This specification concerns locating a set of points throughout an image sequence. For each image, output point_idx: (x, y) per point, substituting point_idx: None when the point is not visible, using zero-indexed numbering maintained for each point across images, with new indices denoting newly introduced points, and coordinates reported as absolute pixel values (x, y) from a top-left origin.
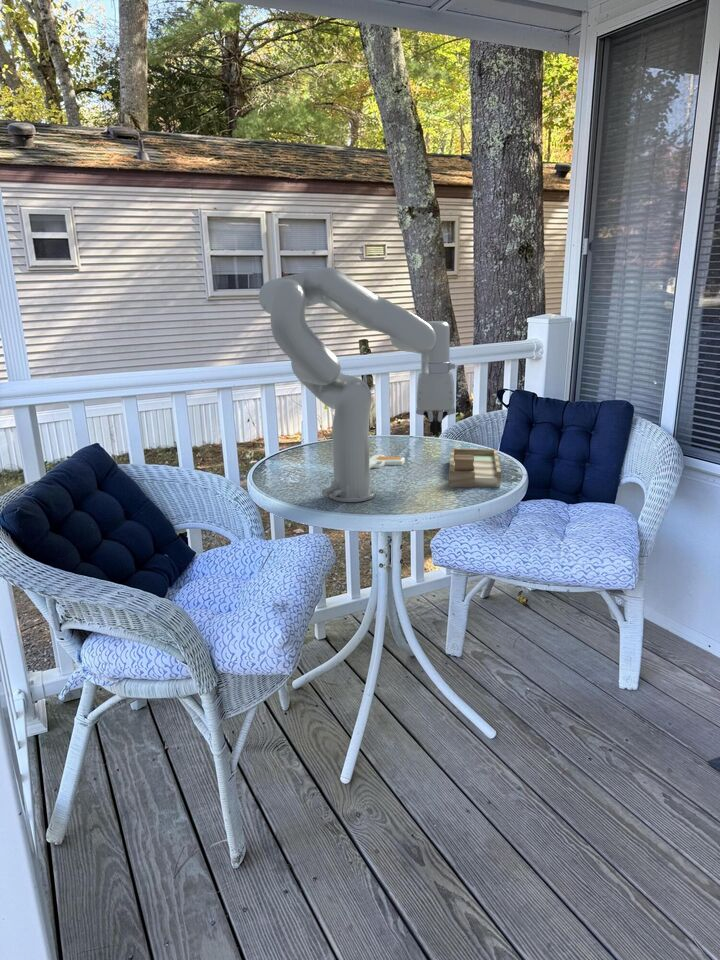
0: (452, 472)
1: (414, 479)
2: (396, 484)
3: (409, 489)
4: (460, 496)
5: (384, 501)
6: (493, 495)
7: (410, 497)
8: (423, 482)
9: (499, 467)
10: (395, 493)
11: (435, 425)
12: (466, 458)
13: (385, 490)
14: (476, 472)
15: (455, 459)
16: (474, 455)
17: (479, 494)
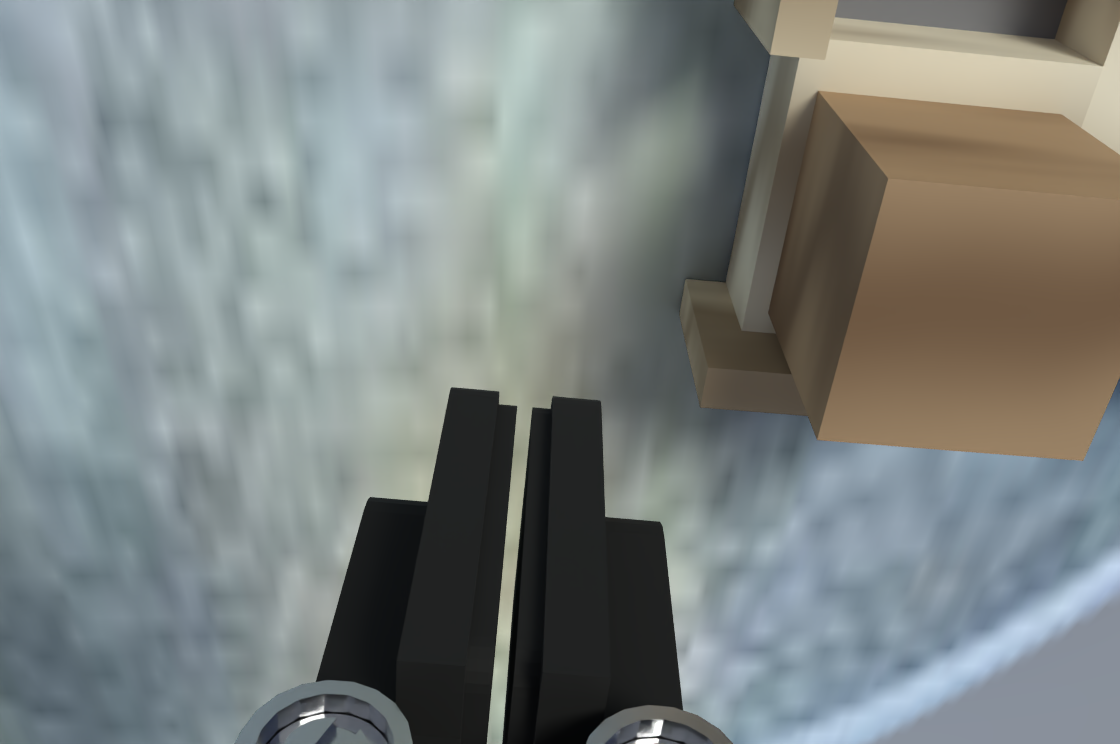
0: (741, 405)
1: (269, 32)
2: (84, 239)
3: (261, 399)
4: (746, 569)
5: (100, 675)
6: (1050, 545)
7: (302, 595)
8: (394, 162)
9: None
10: (145, 506)
11: (500, 587)
12: (1001, 406)
13: (22, 429)
14: (1105, 137)
15: (823, 439)
16: None
17: (932, 523)
